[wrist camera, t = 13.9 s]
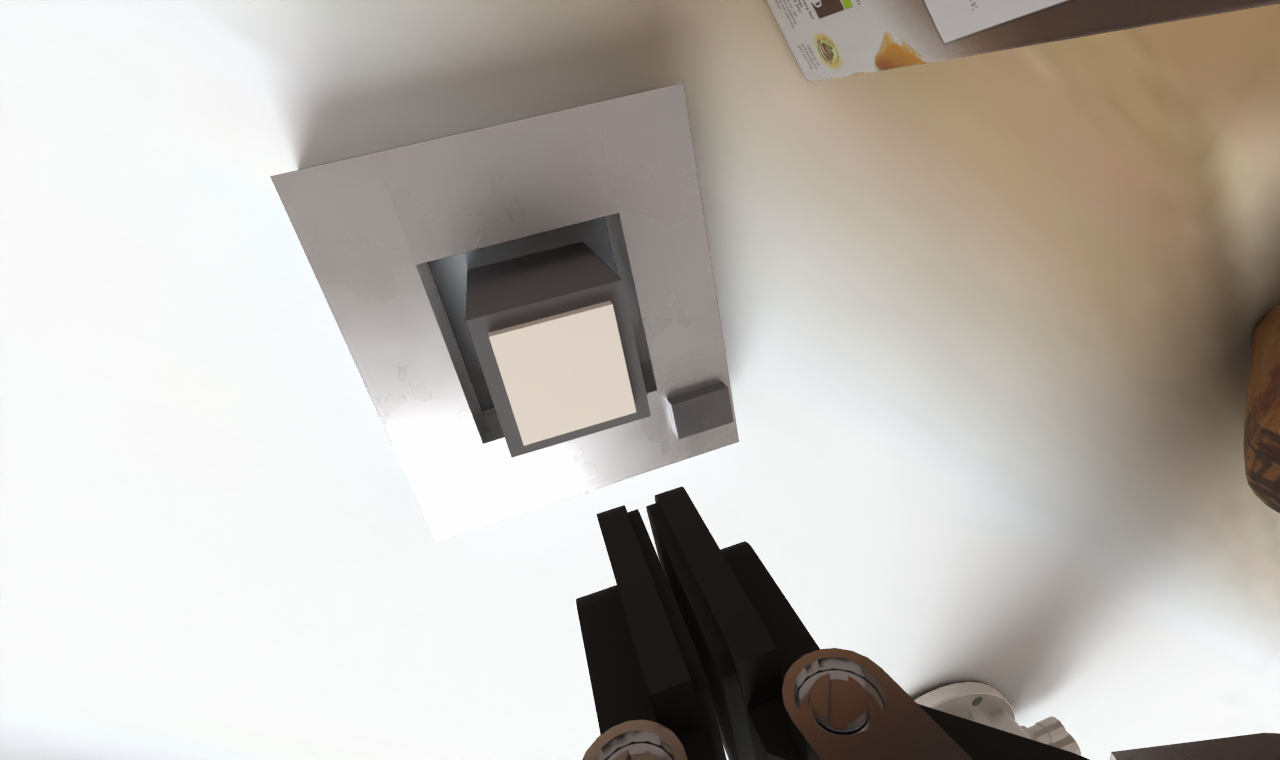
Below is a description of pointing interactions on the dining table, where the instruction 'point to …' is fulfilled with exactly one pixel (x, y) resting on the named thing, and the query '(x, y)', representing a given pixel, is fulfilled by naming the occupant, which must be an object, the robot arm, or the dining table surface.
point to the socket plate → (499, 212)
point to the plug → (555, 346)
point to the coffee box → (957, 27)
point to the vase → (1264, 412)
